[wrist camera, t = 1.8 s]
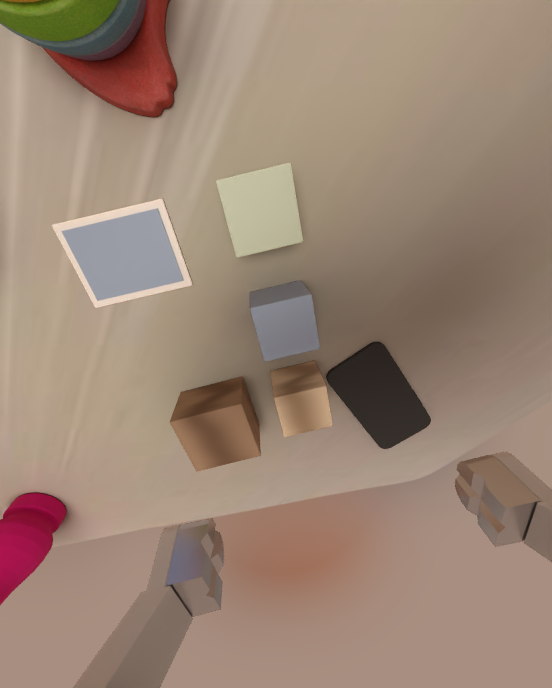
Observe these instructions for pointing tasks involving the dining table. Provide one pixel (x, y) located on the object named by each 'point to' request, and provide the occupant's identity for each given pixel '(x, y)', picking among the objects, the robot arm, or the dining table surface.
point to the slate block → (284, 320)
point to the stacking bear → (103, 46)
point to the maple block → (301, 398)
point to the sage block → (261, 209)
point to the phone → (379, 395)
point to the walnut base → (217, 424)
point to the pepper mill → (26, 537)
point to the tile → (125, 253)
